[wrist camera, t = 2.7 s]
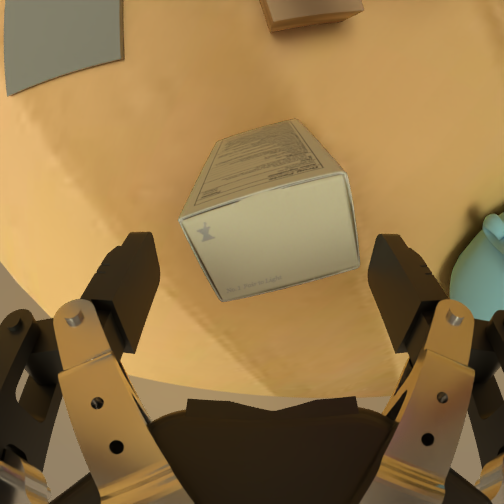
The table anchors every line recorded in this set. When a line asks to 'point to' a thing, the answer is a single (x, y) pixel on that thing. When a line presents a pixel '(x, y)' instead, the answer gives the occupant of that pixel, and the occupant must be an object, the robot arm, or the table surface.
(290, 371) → the table surface
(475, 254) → the decorative pot
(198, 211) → the skincare box
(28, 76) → the coaster
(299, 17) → the walnut block
